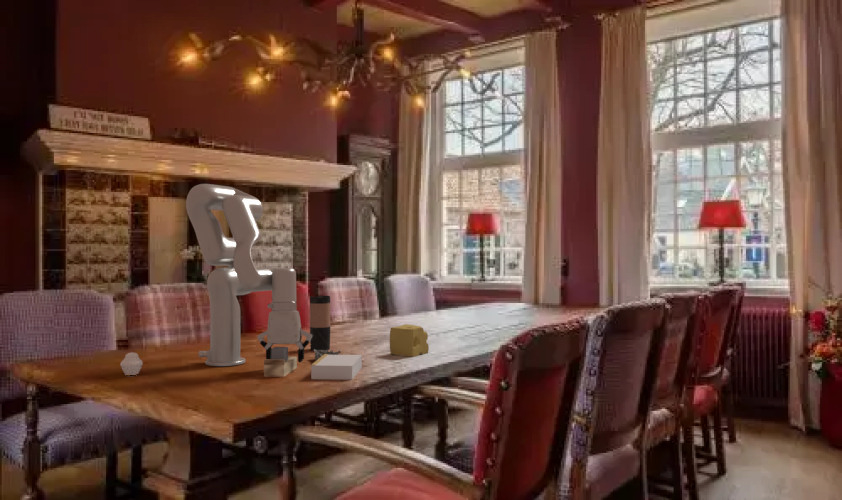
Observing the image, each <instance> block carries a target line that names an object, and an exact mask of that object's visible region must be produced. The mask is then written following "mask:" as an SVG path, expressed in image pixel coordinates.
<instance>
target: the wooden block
mask: <svg viewBox="0 0 842 500" xmlns="http://www.w3.org/2000/svg"><path fill="white" fill-rule="evenodd" d="M263 364H264V365H263V377H266V378H268V377H270V378H271V377H277V378H282V377H283V378H284V377H286V376H287V375H289V374H290V373H291V372H293V371H294V370H295V369H297V368H298V356H288V360H287V361H286V362H285V359H266V358H264V359H263Z"/></svg>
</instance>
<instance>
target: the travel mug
mask: <svg viewBox="0 0 842 500" xmlns="http://www.w3.org/2000/svg"><path fill="white" fill-rule="evenodd" d="M309 301H310V302H309V333H310V334H312V338H311V340H310V342H309V344H310V350H311V351H313V352H314V349H315V350H328V351H329V350H331V349H330V348H331V295H316V296H312V295H311V296H310V297H309Z"/></svg>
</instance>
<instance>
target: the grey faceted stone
mask: <svg viewBox="0 0 842 500" xmlns="http://www.w3.org/2000/svg"><path fill="white" fill-rule="evenodd" d="M143 363H144V362H143V360H142V359H140V357H139V354H138V353H137V352H133V351H131V352H128V353H126V354H125V356H124V358H123V359H122V361H120V367H121V370H122V372H123V373H124V375H125V376H126V375H136V374H138V375H139V373H140V371H141V369H142V367H143ZM136 376H137V375H136Z"/></svg>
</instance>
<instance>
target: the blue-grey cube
mask: <svg viewBox="0 0 842 500" xmlns="http://www.w3.org/2000/svg"><path fill="white" fill-rule="evenodd" d="M271 348H272V347H271ZM288 357H289V347H288V346H274V347H273V348H272V359H285V362H286V361H287V360H288Z"/></svg>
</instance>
